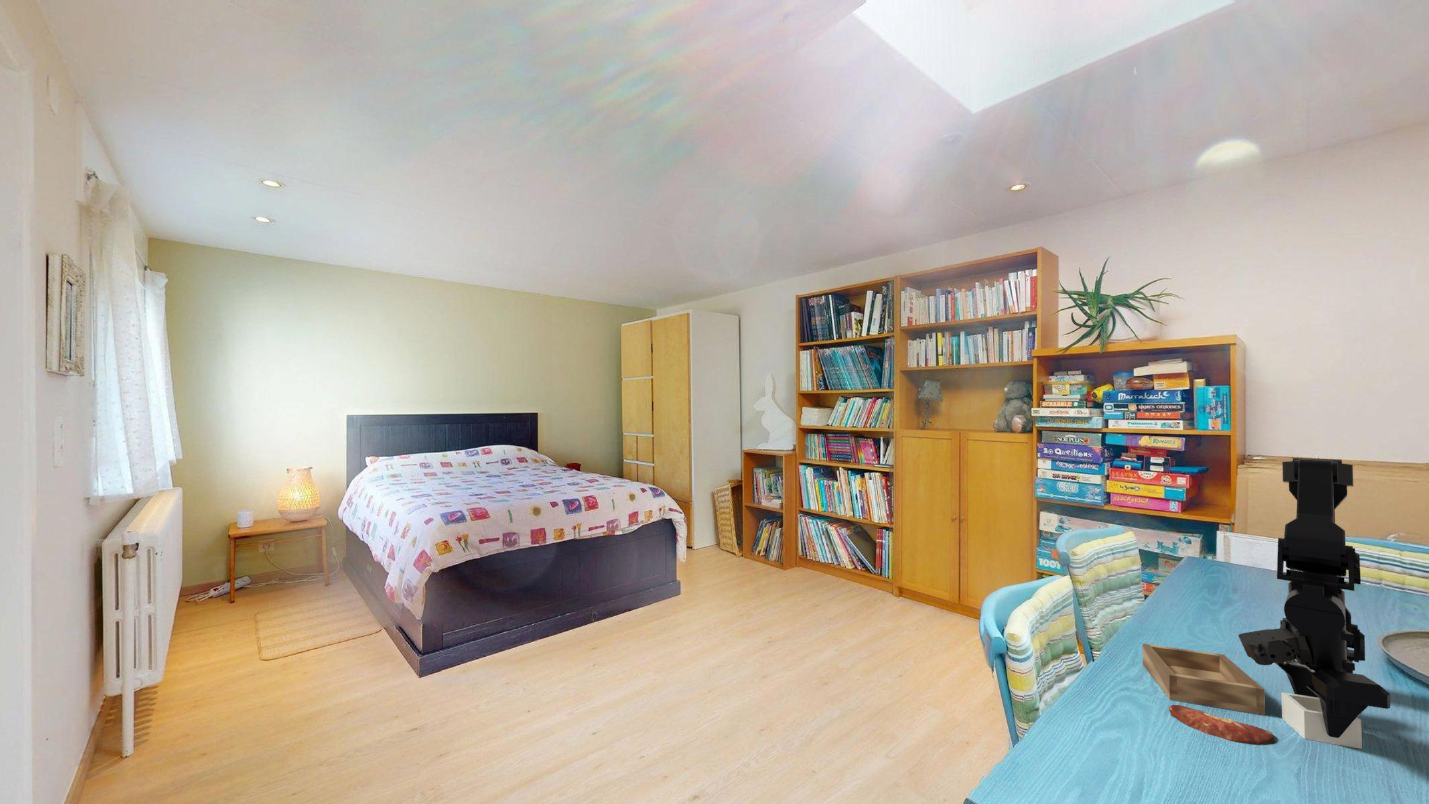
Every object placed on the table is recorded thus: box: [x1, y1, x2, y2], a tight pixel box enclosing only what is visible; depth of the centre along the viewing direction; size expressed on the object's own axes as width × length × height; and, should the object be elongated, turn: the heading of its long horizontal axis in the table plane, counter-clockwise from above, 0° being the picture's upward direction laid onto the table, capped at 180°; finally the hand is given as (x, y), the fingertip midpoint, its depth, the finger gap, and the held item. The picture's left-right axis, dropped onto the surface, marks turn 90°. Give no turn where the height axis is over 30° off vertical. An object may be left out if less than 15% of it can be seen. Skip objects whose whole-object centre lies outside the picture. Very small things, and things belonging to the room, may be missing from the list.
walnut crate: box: [1142, 643, 1266, 716], centre depth 95 cm, size 12×14×4 cm
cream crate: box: [1281, 692, 1363, 750], centre depth 82 cm, size 6×6×4 cm
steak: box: [1168, 704, 1276, 746], centre depth 83 cm, size 8×2×12 cm
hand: (1319, 725), depth 82 cm, fingers closed on cream crate, 6 cm apart
